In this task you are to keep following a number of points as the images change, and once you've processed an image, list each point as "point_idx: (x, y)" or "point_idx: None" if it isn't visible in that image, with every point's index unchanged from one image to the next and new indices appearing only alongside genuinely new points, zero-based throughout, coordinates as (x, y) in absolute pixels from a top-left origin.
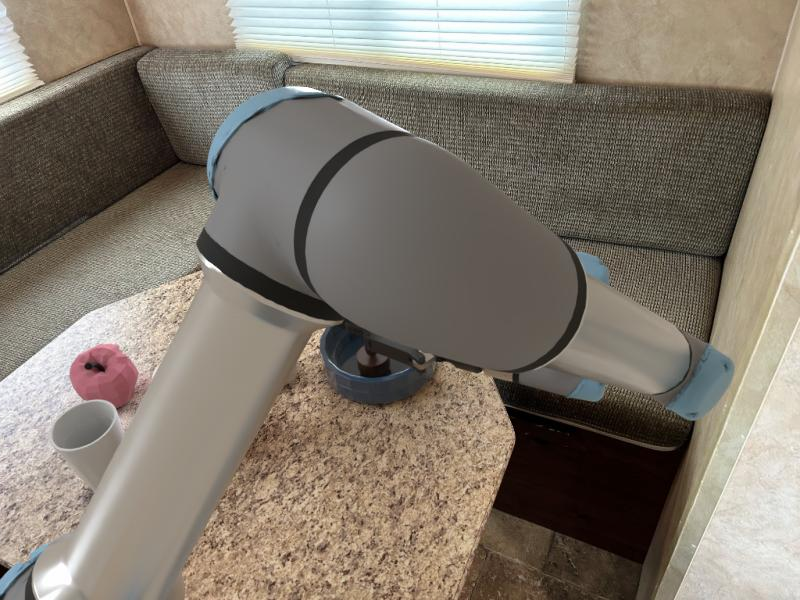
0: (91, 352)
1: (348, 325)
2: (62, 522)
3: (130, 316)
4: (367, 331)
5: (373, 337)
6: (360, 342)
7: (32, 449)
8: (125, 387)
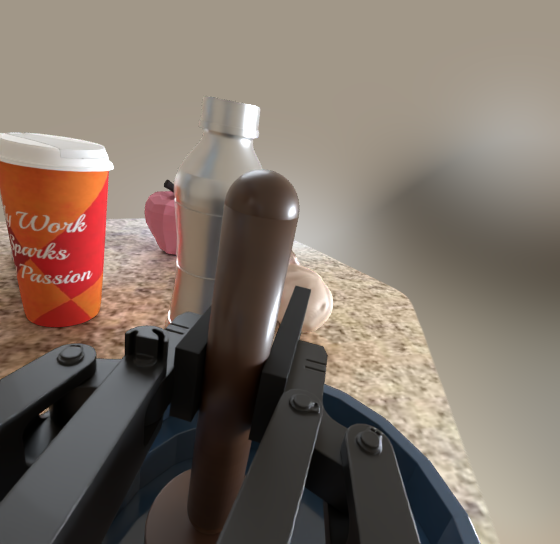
0: None
1: (175, 319)
2: (8, 237)
3: (300, 252)
4: (94, 354)
5: (29, 375)
6: (316, 497)
7: (123, 225)
8: (159, 223)
